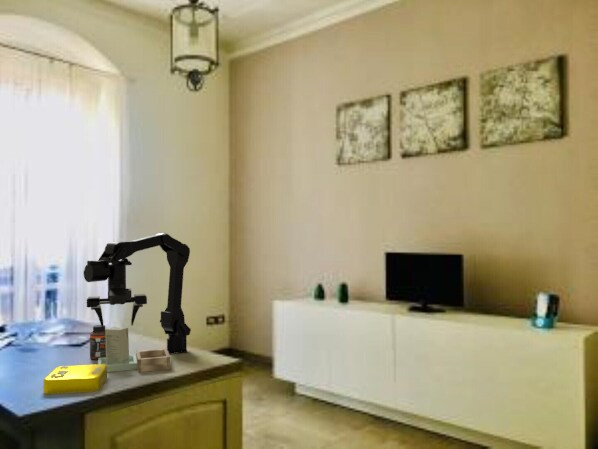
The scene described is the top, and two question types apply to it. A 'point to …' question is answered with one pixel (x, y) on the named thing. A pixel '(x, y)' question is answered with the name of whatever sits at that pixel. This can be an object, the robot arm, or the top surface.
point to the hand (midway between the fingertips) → (117, 326)
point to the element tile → (75, 379)
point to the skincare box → (117, 345)
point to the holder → (152, 360)
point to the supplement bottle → (97, 342)
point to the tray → (120, 367)
